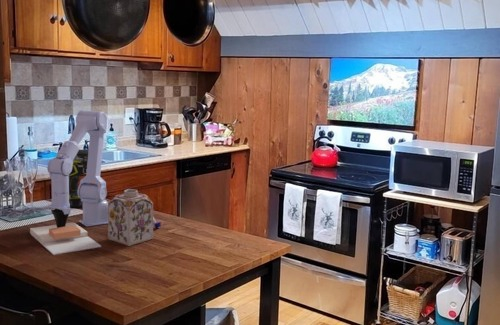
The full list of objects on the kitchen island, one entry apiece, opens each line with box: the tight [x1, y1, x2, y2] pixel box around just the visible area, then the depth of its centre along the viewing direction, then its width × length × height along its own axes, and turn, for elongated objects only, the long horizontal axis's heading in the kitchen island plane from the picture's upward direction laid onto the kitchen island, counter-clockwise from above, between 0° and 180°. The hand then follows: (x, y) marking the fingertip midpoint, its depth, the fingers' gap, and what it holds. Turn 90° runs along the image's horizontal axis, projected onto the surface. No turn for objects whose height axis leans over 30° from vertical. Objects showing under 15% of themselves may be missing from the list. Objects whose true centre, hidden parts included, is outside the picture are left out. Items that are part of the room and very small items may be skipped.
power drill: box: [69, 148, 89, 208], centre depth 230 cm, size 9×17×25 cm, turn 101°
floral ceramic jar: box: [107, 188, 154, 247], centre depth 187 cm, size 12×12×18 cm
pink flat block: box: [49, 225, 81, 240], centre depth 183 cm, size 9×6×2 cm, turn 128°
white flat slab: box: [29, 221, 89, 245], centre depth 189 cm, size 16×14×2 cm
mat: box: [41, 236, 102, 256], centre depth 179 cm, size 16×12×1 cm
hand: (61, 229), depth 186 cm, fingers closed
